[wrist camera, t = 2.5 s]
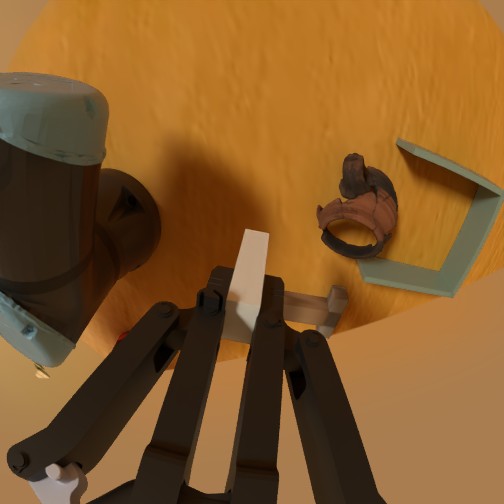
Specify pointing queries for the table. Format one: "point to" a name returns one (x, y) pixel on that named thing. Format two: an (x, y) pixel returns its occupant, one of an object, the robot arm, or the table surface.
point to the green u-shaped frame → (464, 245)
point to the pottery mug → (361, 207)
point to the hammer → (316, 309)
